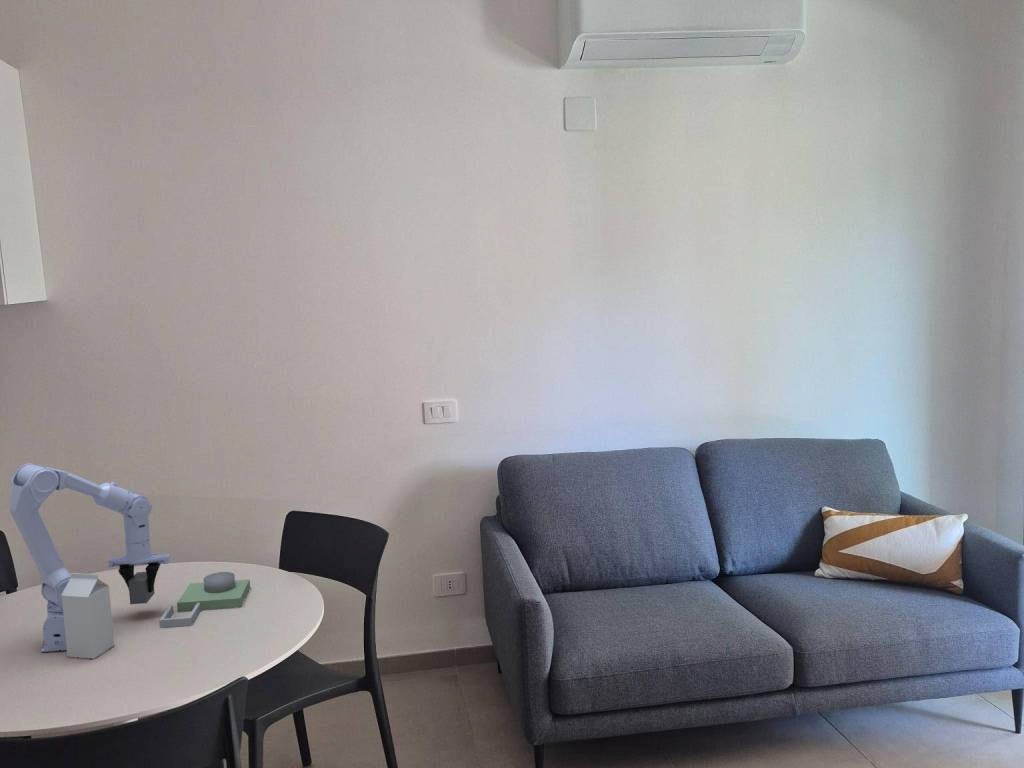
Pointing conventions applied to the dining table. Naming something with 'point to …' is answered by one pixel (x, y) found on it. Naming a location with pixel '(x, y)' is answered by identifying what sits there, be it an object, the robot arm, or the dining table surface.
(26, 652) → the dining table surface
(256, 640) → the dining table surface
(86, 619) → the milk carton
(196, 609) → the green panel
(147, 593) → the dark gray block
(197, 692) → the dining table surface
